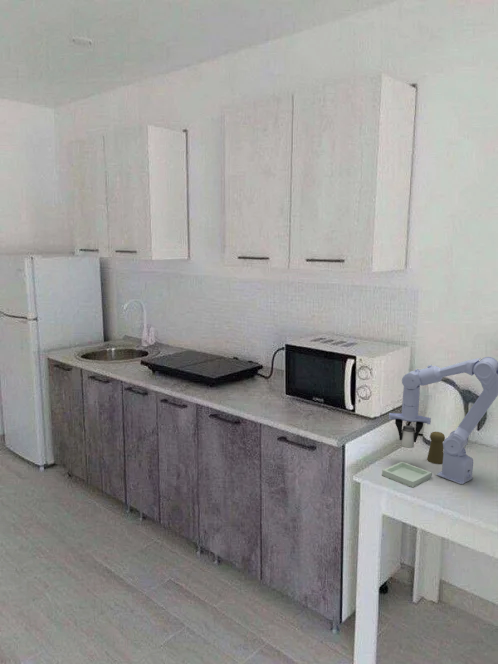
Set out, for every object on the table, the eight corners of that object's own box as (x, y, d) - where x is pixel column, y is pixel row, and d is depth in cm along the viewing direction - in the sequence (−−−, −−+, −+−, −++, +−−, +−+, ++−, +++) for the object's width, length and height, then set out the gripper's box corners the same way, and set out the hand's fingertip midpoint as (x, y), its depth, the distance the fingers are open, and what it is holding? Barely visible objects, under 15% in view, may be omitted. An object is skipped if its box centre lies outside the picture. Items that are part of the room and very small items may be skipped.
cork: (446, 464, 192) (448, 435, 191) (429, 463, 193) (432, 435, 191) (440, 457, 198) (443, 430, 197) (424, 457, 199) (427, 429, 197)
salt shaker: (416, 446, 190) (417, 427, 189) (409, 449, 187) (410, 430, 186) (405, 442, 193) (406, 424, 192) (398, 445, 190) (400, 427, 189)
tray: (431, 477, 181) (432, 472, 180) (412, 487, 173) (413, 482, 172) (401, 466, 189) (401, 461, 189) (382, 475, 182) (382, 469, 181)
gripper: (431, 403, 189) (428, 439, 191) (390, 399, 194) (388, 433, 196) (431, 409, 182) (428, 446, 185) (389, 404, 187) (386, 440, 189)
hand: (407, 440), depth 190 cm, fingers closed on salt shaker, 4 cm apart
